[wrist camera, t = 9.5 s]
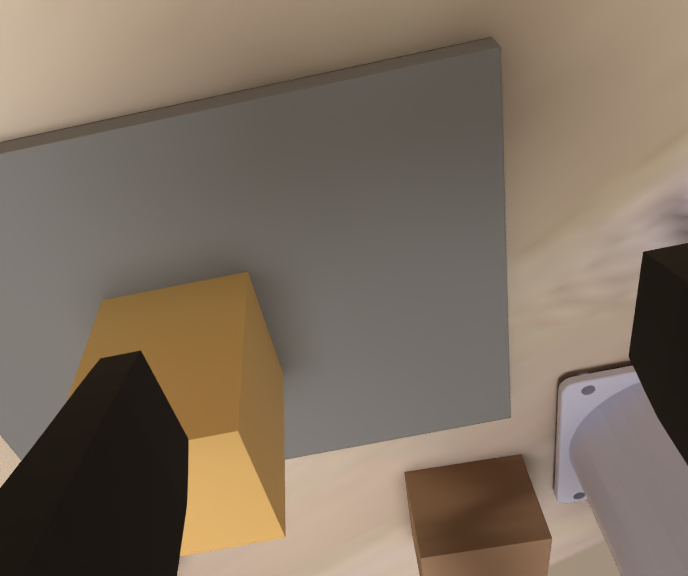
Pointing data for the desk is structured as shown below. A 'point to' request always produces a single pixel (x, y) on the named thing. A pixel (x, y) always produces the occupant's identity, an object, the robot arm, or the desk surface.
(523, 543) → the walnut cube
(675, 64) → the desk surface
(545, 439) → the desk surface
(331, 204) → the slate mat
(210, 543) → the ochre block
